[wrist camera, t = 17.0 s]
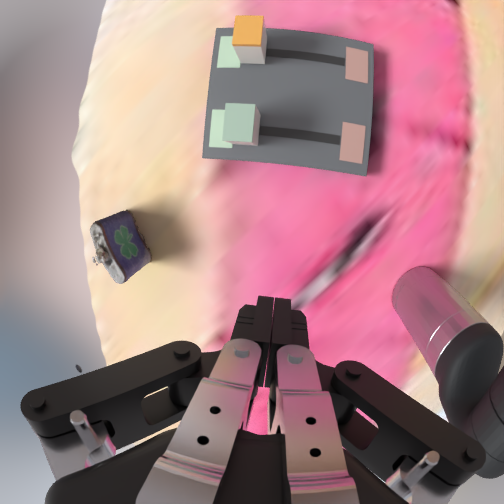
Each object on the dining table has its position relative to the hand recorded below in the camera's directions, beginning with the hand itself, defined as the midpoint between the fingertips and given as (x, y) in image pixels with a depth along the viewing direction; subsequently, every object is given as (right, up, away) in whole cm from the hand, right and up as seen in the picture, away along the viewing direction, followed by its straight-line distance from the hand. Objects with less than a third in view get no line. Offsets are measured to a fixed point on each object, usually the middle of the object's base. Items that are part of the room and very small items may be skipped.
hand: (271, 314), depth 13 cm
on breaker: (-2, +18, +19) cm, 26 cm away
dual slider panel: (+4, +24, +20) cm, 31 cm away
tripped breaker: (-1, +28, +16) cm, 32 cm away
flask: (-19, +5, +29) cm, 36 cm away
